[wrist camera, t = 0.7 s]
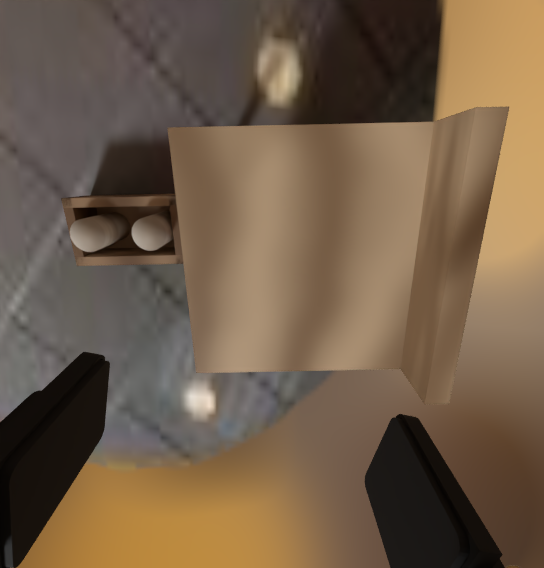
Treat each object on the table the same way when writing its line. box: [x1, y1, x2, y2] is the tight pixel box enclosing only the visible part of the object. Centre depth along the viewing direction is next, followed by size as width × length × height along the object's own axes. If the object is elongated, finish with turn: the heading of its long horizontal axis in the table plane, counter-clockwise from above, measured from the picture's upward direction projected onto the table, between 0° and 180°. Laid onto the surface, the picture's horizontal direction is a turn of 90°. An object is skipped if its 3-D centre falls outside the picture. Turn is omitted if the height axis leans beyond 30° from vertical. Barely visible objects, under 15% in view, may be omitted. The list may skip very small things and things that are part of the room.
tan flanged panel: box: [168, 107, 509, 404], centre depth 22 cm, size 13×13×20 cm
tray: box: [61, 194, 184, 266], centre depth 29 cm, size 10×6×6 cm, turn 91°
